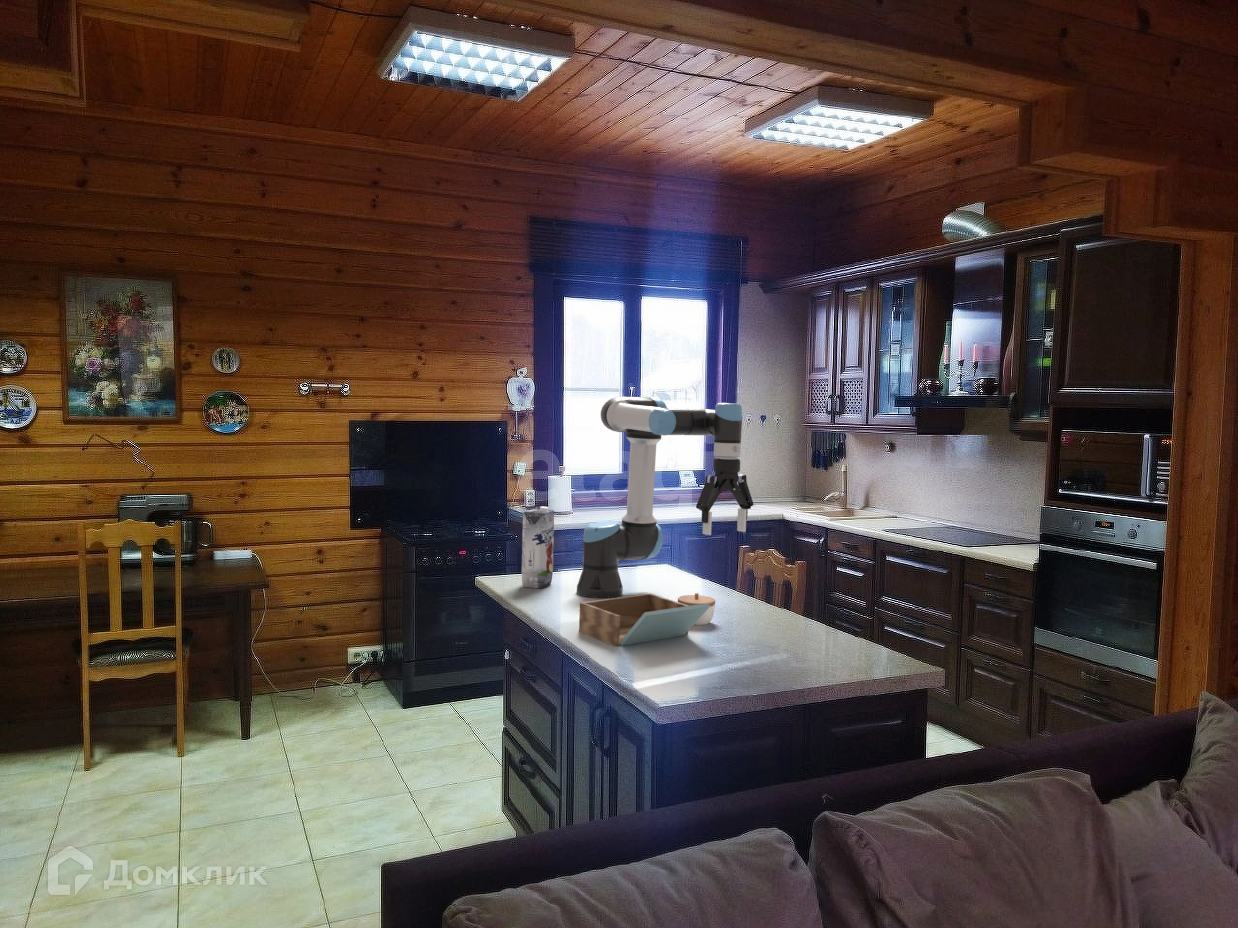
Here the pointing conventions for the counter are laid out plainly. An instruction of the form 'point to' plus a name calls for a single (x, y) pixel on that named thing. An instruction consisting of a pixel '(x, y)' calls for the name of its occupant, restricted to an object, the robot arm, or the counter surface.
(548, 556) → the juice carton
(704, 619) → the lidded jar
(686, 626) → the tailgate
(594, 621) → the open wooden tray
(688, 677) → the counter surface
